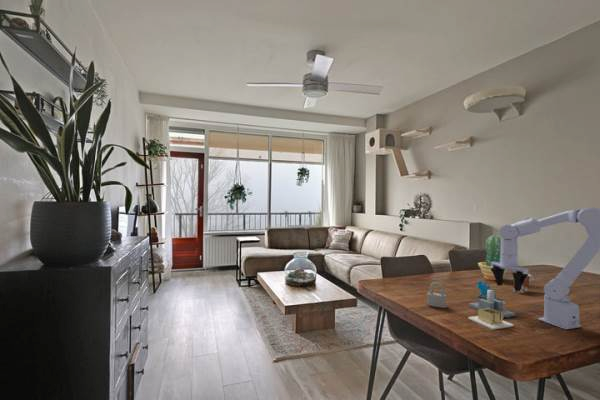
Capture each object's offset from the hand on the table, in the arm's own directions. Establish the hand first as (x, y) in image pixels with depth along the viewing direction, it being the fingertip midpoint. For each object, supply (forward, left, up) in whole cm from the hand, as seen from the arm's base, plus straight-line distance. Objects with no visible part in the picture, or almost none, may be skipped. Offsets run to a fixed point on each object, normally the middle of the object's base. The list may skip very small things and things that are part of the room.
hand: (508, 287), depth 124 cm
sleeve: (-7, +18, -9) cm, 21 cm away
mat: (-7, +18, -9) cm, 21 cm away
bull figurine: (+19, -35, -10) cm, 41 cm away
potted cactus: (+42, -43, -10) cm, 61 cm away
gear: (+14, -6, -10) cm, 18 cm away
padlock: (+13, +24, -10) cm, 29 cm away
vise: (+2, +5, -9) cm, 11 cm away
